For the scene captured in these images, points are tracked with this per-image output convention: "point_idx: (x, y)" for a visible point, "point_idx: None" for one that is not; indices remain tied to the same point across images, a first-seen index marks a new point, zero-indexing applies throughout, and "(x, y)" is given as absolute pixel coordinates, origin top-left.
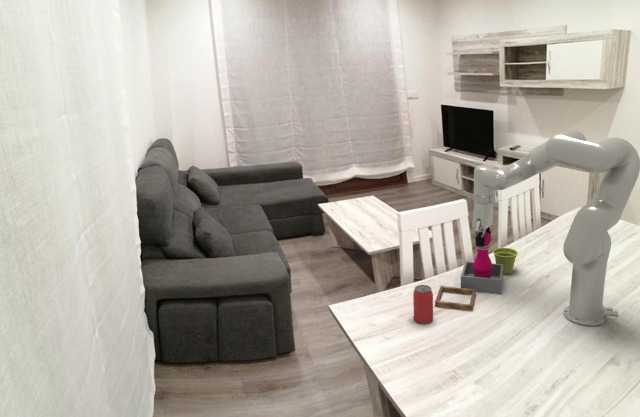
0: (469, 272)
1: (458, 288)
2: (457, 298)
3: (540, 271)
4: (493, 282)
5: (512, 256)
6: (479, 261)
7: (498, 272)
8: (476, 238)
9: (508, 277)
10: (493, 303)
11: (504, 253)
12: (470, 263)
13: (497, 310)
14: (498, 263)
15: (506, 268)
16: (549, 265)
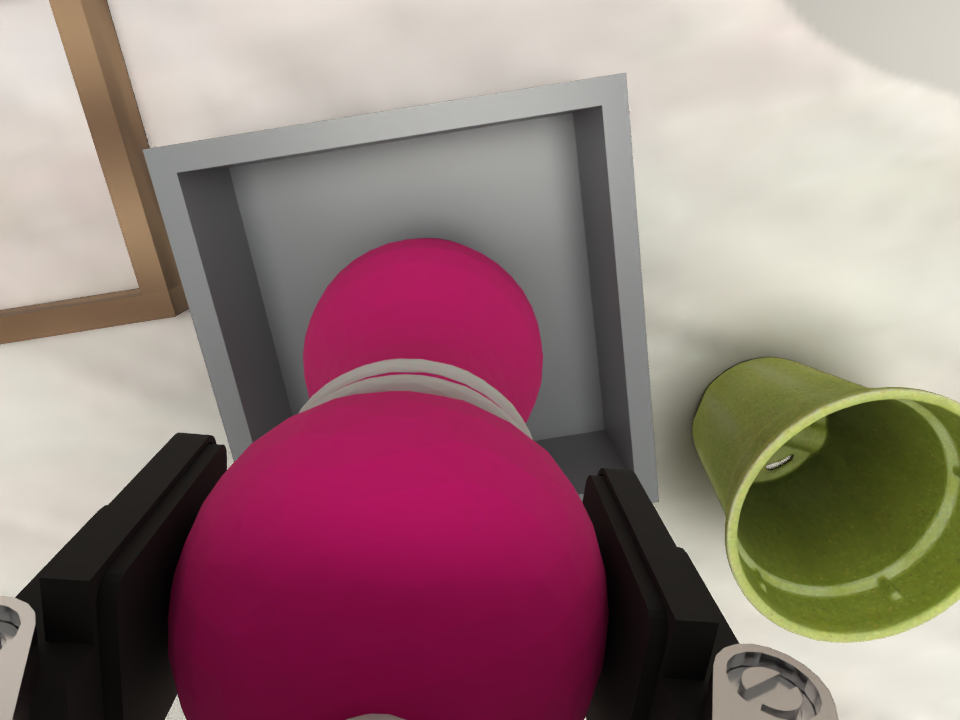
0: (578, 140)
1: (106, 147)
2: (26, 169)
3: (822, 653)
4: None
5: (760, 610)
6: (316, 373)
7: (611, 426)
8: (88, 549)
9: None
10: (114, 469)
11: (938, 466)
12: (604, 151)
13: (20, 518)
14: (734, 424)
15: (709, 478)
16: (949, 687)
